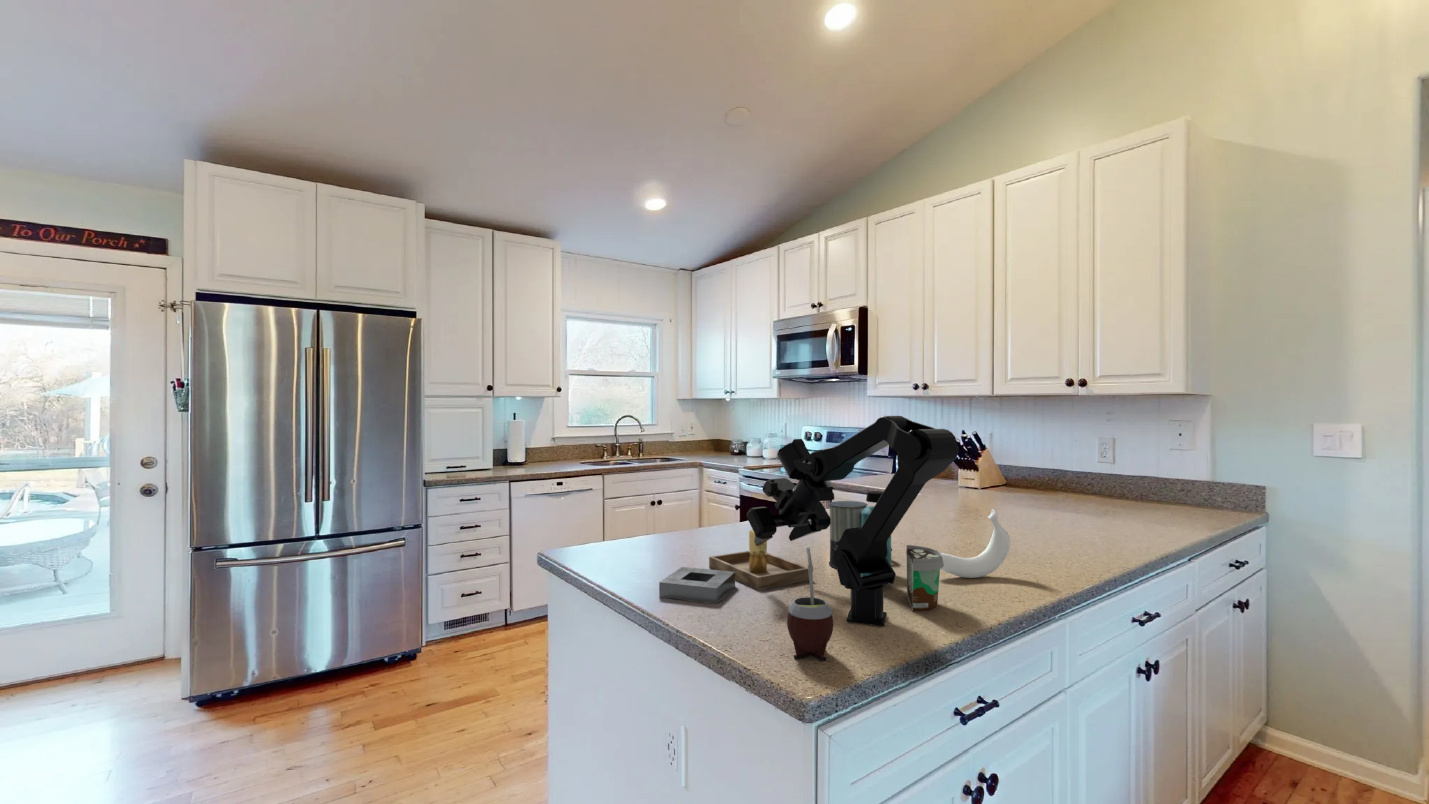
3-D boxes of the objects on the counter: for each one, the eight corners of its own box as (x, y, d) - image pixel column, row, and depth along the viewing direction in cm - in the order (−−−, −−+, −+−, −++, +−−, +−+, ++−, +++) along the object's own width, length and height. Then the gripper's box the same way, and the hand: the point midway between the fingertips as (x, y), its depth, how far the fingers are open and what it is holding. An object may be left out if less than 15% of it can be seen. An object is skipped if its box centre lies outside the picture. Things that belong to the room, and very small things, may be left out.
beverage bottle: (889, 582, 132) (889, 489, 132) (895, 591, 125) (895, 493, 125) (858, 581, 132) (858, 488, 132) (862, 590, 126) (862, 493, 126)
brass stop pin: (757, 574, 135) (757, 534, 135) (745, 570, 138) (745, 531, 138) (770, 571, 138) (770, 531, 138) (758, 567, 141) (758, 528, 141)
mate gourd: (810, 668, 89) (810, 564, 89) (773, 650, 95) (773, 554, 95) (845, 655, 93) (845, 557, 93) (808, 639, 99) (808, 547, 99)
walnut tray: (810, 579, 133) (810, 568, 133) (757, 589, 126) (757, 577, 126) (758, 559, 150) (758, 549, 150) (709, 567, 143) (709, 556, 143)
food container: (949, 616, 110) (949, 561, 110) (913, 614, 111) (913, 559, 111) (938, 595, 122) (938, 545, 122) (906, 593, 123) (906, 544, 123)
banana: (924, 576, 136) (924, 510, 136) (1001, 571, 140) (1001, 507, 140) (936, 582, 131) (936, 514, 131) (1015, 577, 135) (1015, 511, 135)
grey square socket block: (716, 603, 117) (716, 588, 117) (659, 597, 121) (659, 582, 121) (735, 586, 128) (735, 571, 128) (682, 580, 132) (682, 566, 132)
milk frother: (824, 568, 142) (824, 505, 142) (836, 553, 157) (836, 495, 157) (887, 574, 137) (887, 508, 137) (893, 558, 152) (893, 498, 152)
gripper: (821, 464, 134) (791, 508, 143) (751, 469, 124) (722, 515, 133) (847, 505, 127) (813, 548, 136) (774, 513, 117) (742, 559, 127)
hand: (773, 541), depth 133 cm, fingers open, 9 cm apart
